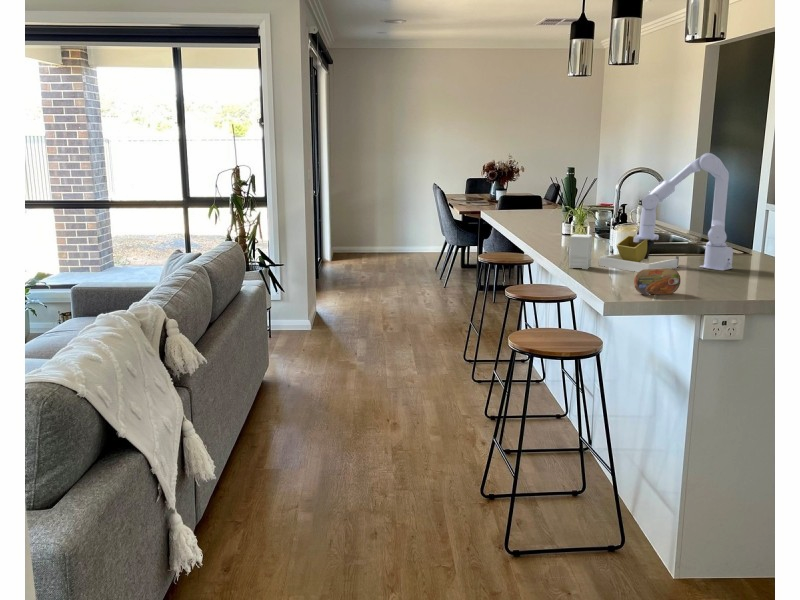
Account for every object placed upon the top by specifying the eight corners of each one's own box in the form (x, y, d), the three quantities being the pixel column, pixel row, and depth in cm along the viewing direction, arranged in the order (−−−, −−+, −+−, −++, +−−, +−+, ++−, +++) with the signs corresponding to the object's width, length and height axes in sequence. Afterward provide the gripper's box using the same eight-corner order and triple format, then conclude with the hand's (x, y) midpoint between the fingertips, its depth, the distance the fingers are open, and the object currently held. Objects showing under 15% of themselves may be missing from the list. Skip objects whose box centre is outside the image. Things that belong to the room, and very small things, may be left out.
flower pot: (619, 264, 280) (615, 244, 276) (631, 254, 284) (628, 234, 280) (638, 268, 273) (635, 248, 269) (650, 257, 277) (647, 237, 273)
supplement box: (591, 266, 272) (593, 234, 269) (587, 269, 265) (589, 237, 262) (572, 265, 275) (573, 233, 272) (568, 268, 268) (570, 235, 266)
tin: (636, 295, 221) (638, 269, 219) (631, 293, 224) (633, 268, 222) (680, 294, 223) (682, 268, 222) (674, 292, 226) (676, 266, 225)
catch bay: (677, 267, 270) (678, 256, 269) (647, 273, 258) (648, 262, 257) (629, 260, 287) (630, 249, 286) (598, 265, 274) (599, 254, 273)
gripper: (648, 222, 283) (645, 255, 286) (627, 225, 274) (624, 258, 277) (664, 224, 277) (661, 257, 280) (643, 227, 268) (640, 261, 272)
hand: (644, 258), depth 278 cm, fingers closed, pressing on flower pot
